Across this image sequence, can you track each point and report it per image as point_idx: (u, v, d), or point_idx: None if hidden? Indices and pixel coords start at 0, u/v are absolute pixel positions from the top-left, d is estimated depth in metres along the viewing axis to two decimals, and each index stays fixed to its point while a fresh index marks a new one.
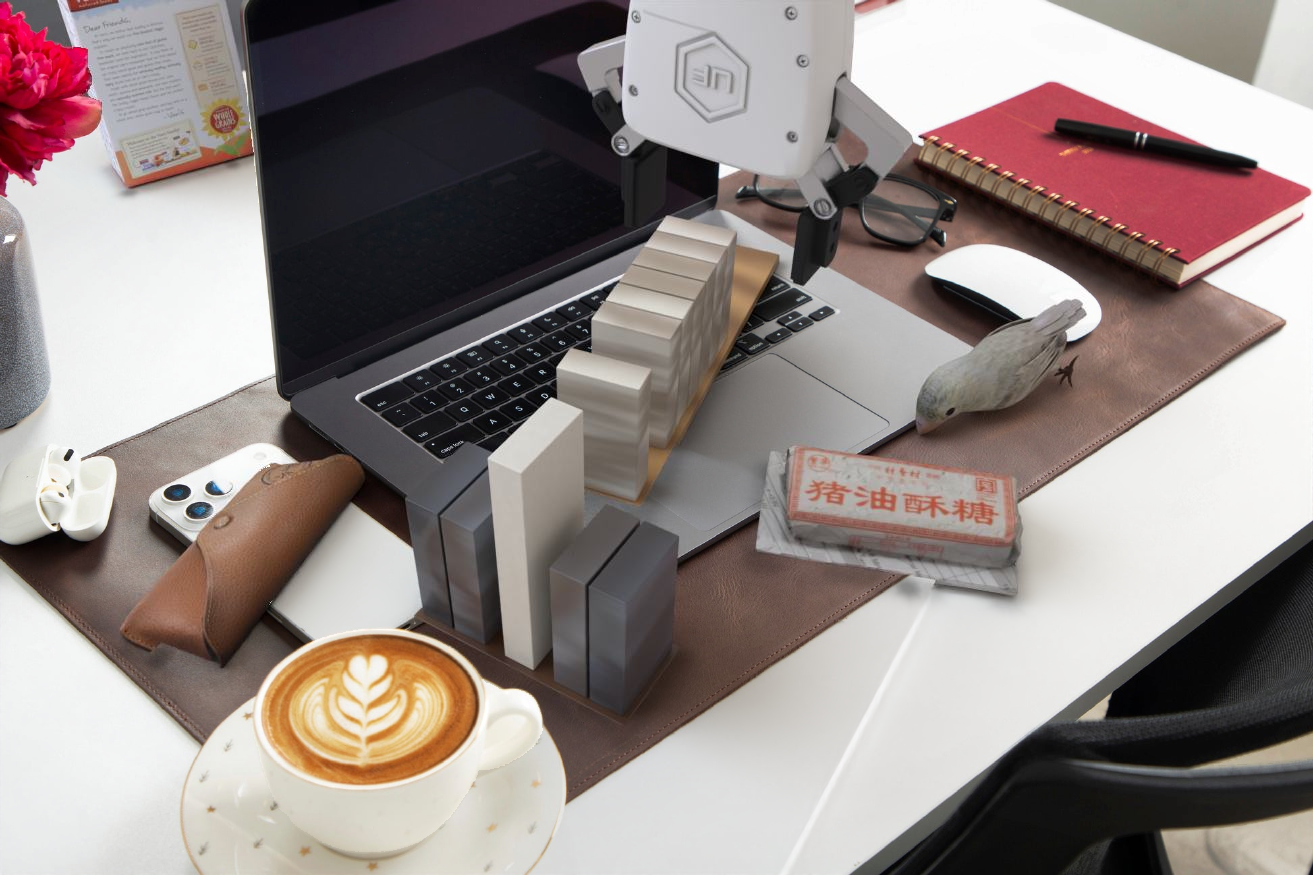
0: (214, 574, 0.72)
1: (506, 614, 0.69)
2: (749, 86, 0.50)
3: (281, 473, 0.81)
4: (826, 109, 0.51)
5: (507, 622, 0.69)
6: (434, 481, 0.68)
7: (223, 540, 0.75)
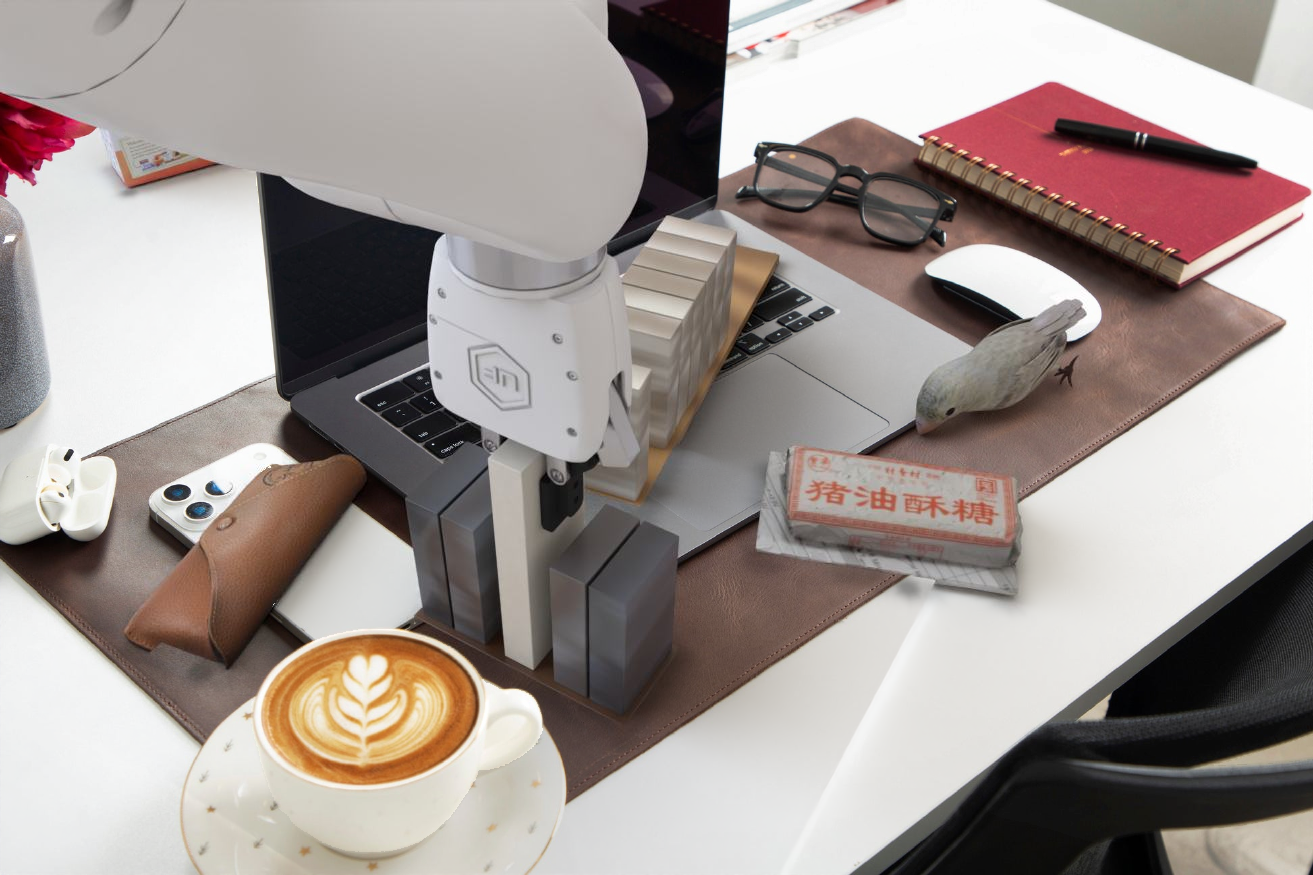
0: (218, 575, 0.72)
1: (506, 614, 0.69)
2: (531, 388, 0.56)
3: (283, 474, 0.81)
4: (602, 408, 0.56)
5: (507, 622, 0.69)
6: (434, 481, 0.68)
7: (226, 541, 0.75)
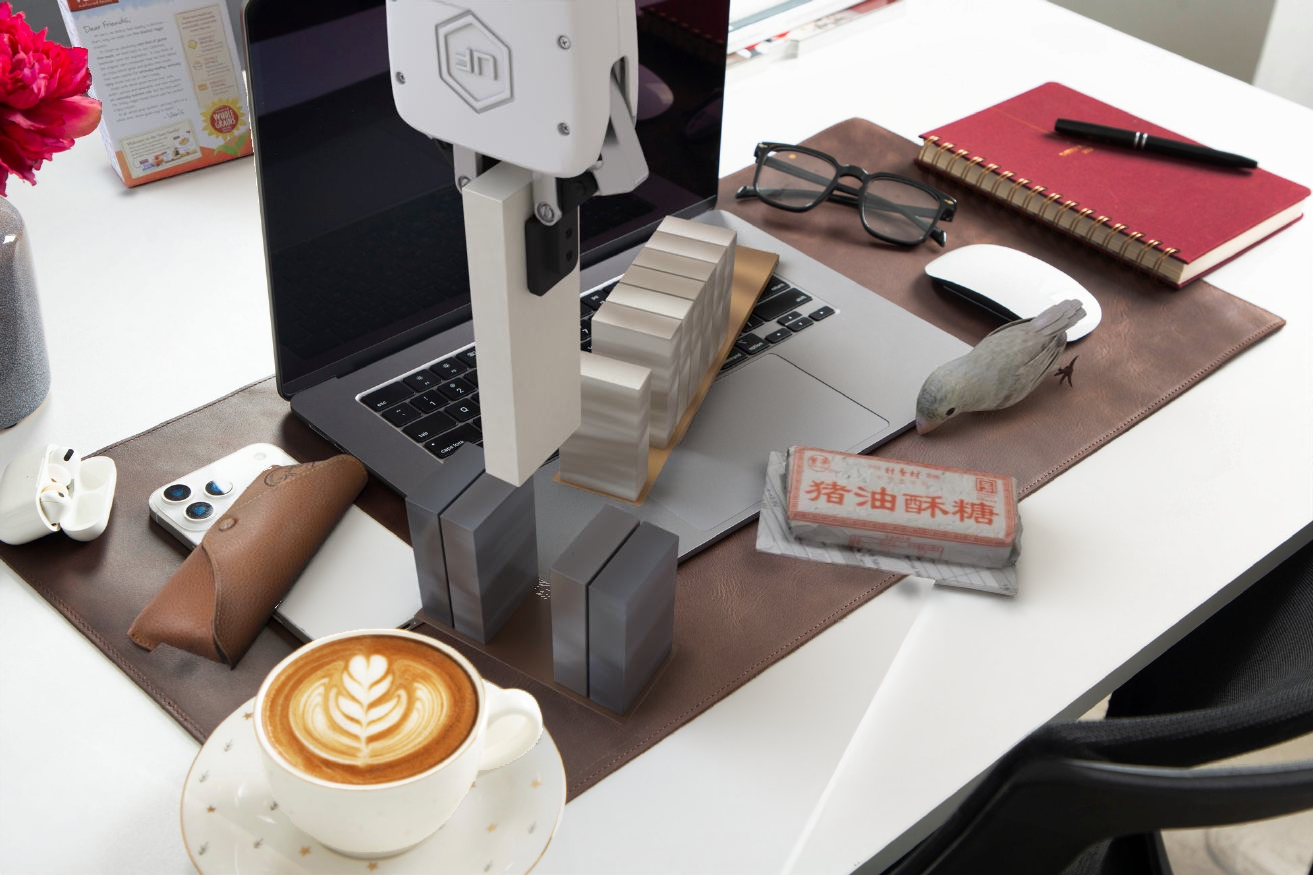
0: (222, 576, 0.72)
1: (486, 413, 0.58)
2: (513, 71, 0.45)
3: (284, 474, 0.81)
4: (601, 98, 0.45)
5: (488, 424, 0.58)
6: (434, 481, 0.68)
7: (229, 542, 0.75)
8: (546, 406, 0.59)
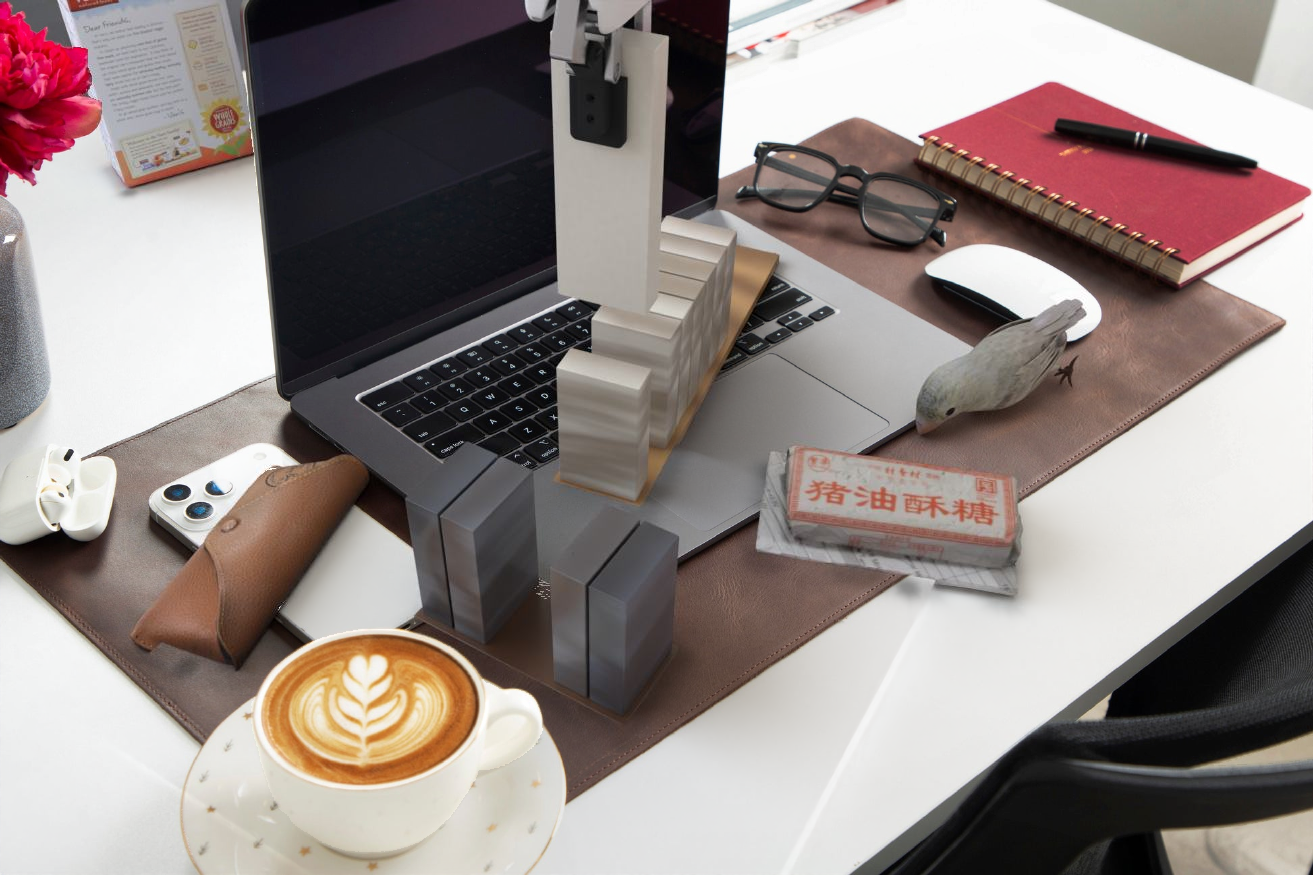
0: (225, 577, 0.72)
1: None
2: None
3: (285, 475, 0.81)
4: None
5: None
6: (434, 481, 0.68)
7: (232, 543, 0.75)
8: (596, 254, 0.69)
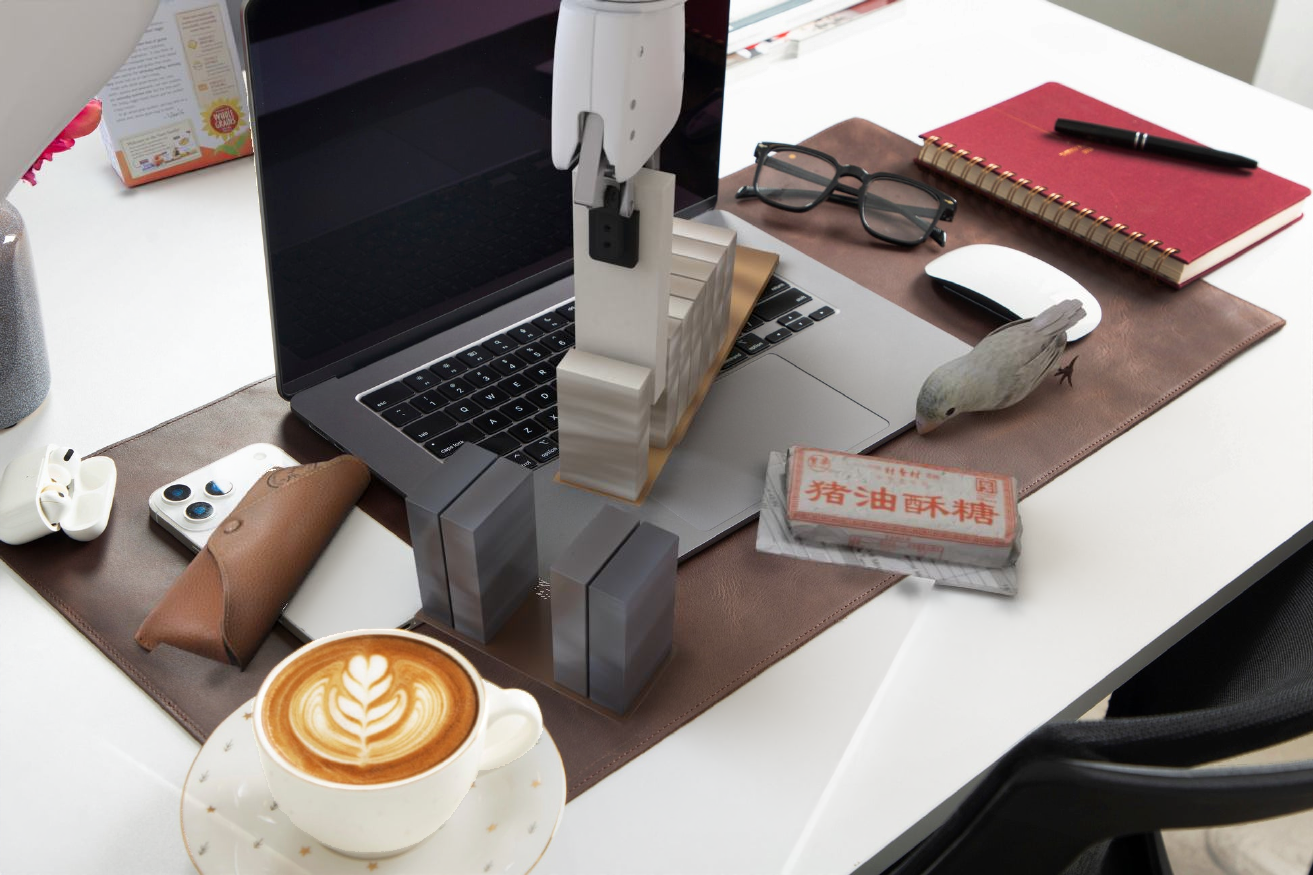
0: (229, 578, 0.72)
1: None
2: None
3: (287, 476, 0.81)
4: (568, 126, 0.64)
5: None
6: (434, 481, 0.68)
7: (235, 544, 0.74)
8: (610, 352, 0.79)
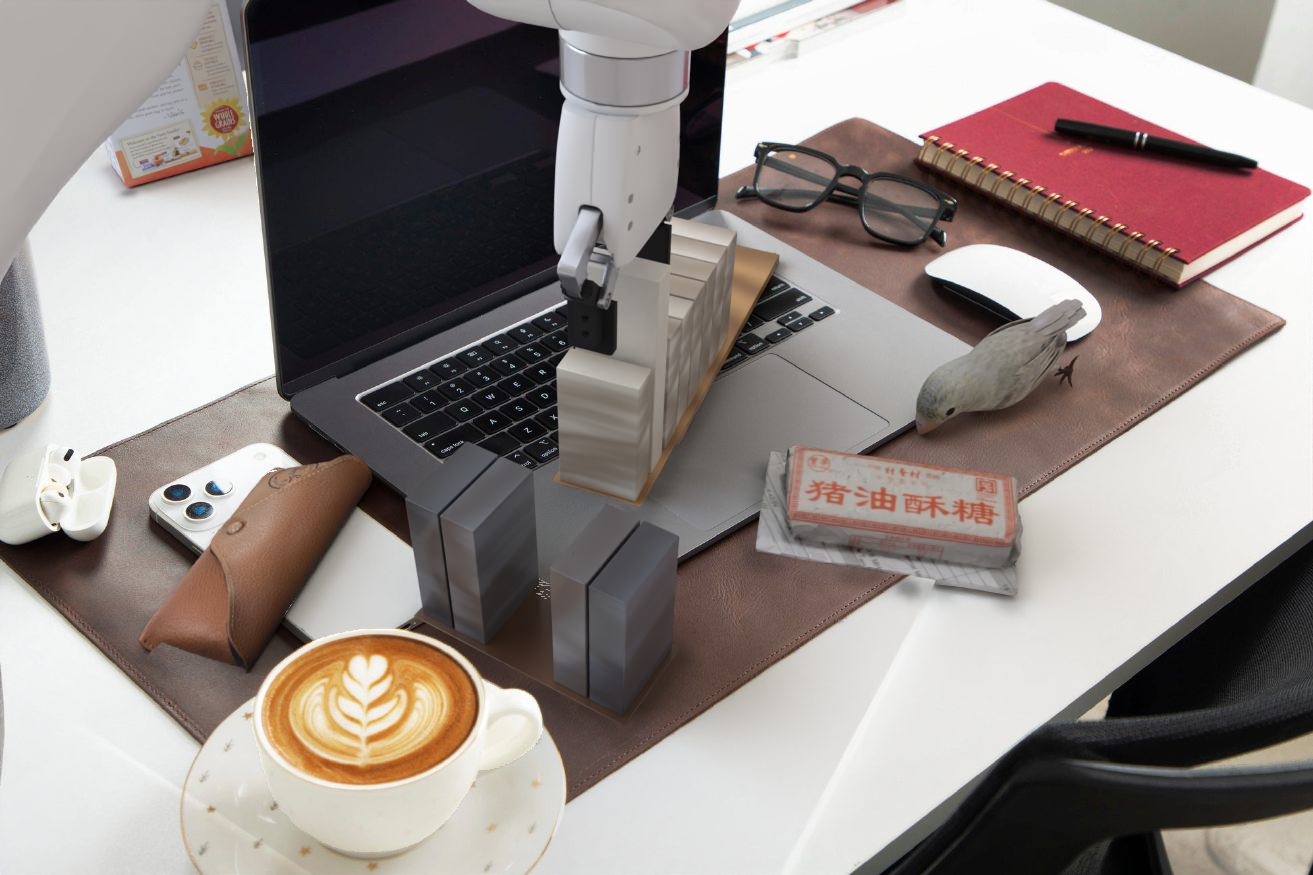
0: (234, 579, 0.72)
1: None
2: None
3: (288, 476, 0.81)
4: (569, 217, 0.68)
5: None
6: (434, 481, 0.68)
7: (238, 545, 0.74)
8: None
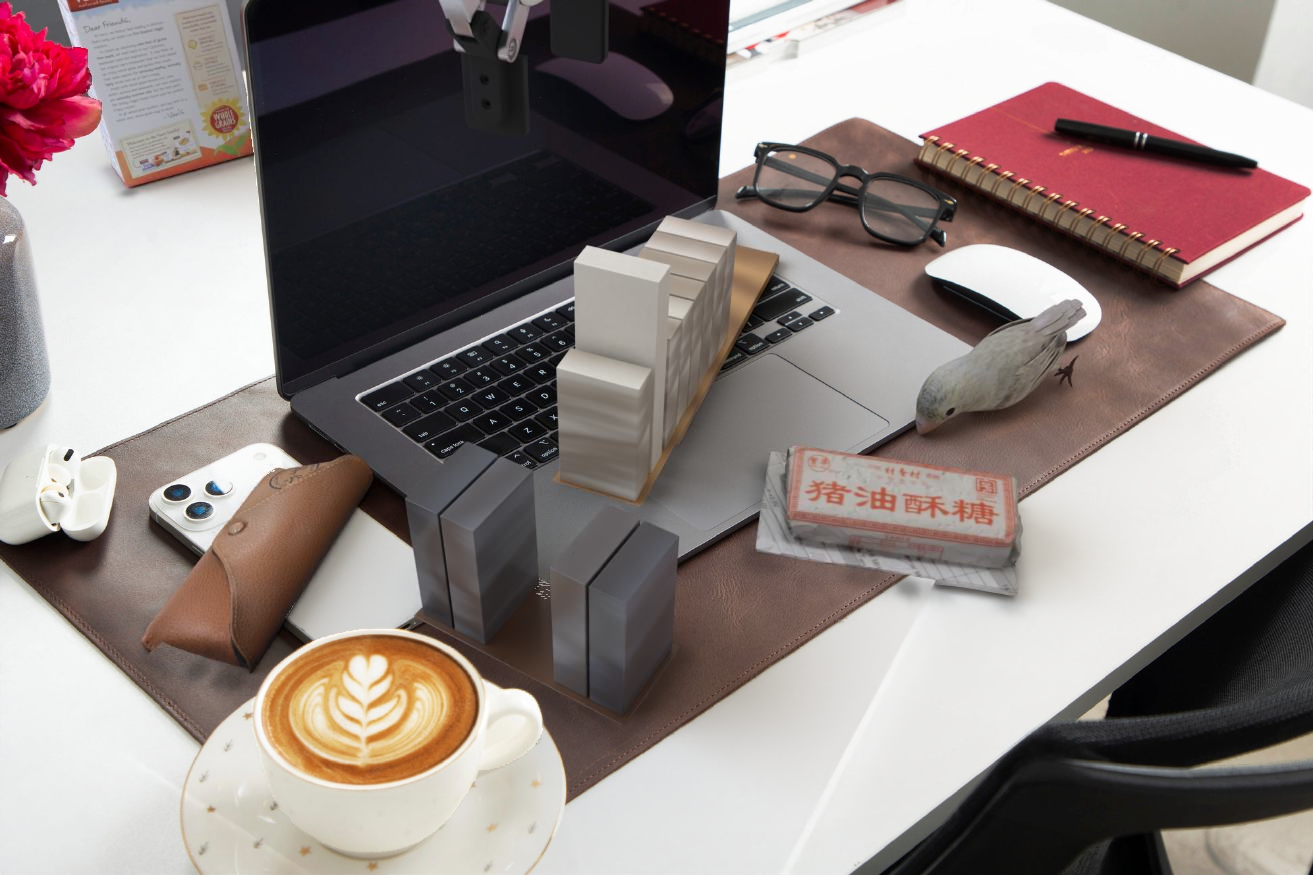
0: (236, 580, 0.72)
1: None
2: None
3: (289, 477, 0.81)
4: None
5: None
6: (434, 481, 0.68)
7: (240, 546, 0.74)
8: None
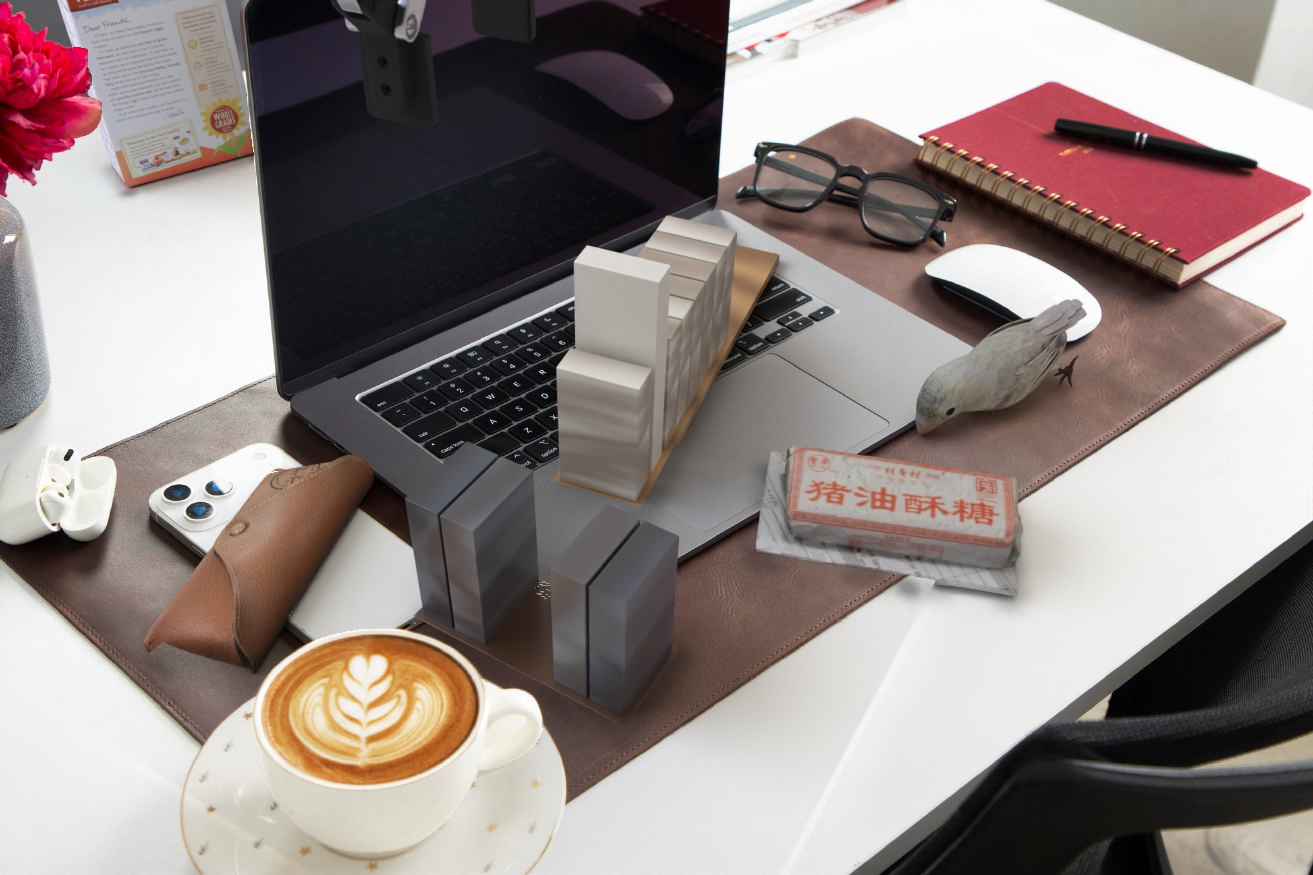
0: (239, 580, 0.72)
1: None
2: None
3: (290, 477, 0.81)
4: None
5: None
6: (434, 481, 0.68)
7: (242, 546, 0.74)
8: None
